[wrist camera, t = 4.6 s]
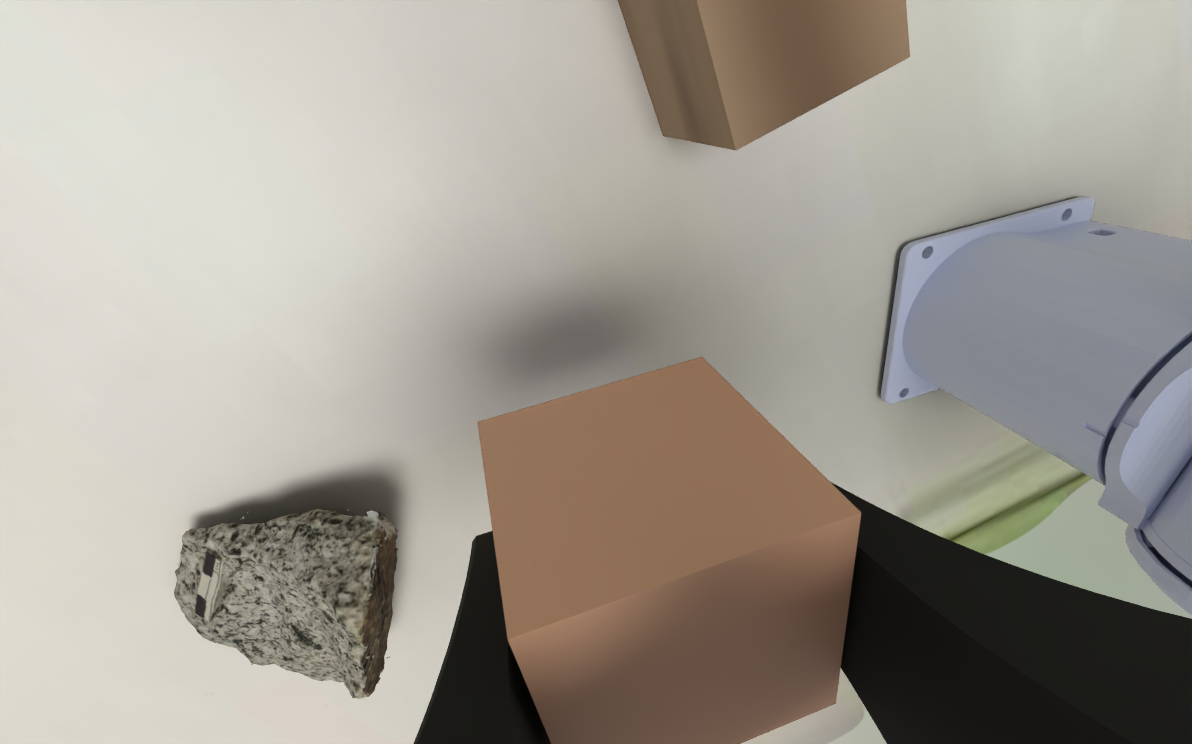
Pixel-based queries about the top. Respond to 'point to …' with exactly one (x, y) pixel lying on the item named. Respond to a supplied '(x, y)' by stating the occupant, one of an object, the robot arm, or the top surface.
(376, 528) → the rock sample
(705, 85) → the walnut block
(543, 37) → the top surface
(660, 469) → the terracotta block
